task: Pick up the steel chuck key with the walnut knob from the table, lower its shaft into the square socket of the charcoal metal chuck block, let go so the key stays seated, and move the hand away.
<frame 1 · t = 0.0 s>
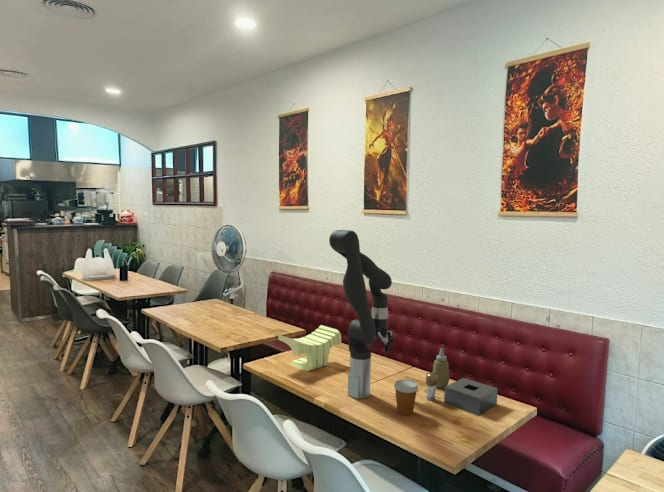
hand: (379, 350, 201), 17 cm above the table, tool pointing down, fingers open, 8 cm apart
disposable coffee cup: (405, 412, 177), on the table
chuck block: (470, 403, 187), on the table
squeeze bottle: (440, 386, 205), on the table
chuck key: (430, 399, 190), on the table
slatted curved stool: (309, 366, 228), on the table
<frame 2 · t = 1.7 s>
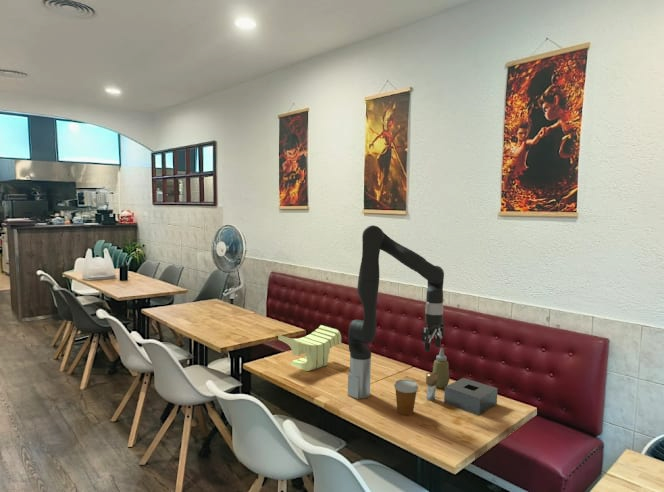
hand: (432, 348, 189), 22 cm above the table, tool pointing down, fingers open, 8 cm apart
nothing on the table moved.
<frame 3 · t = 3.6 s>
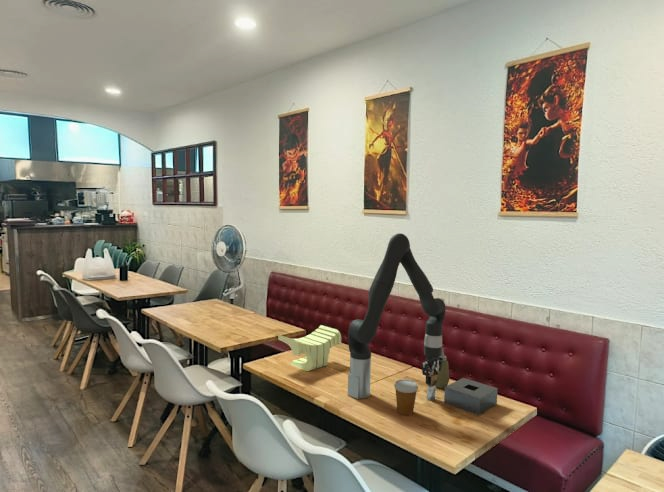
hand: (431, 382, 190), 7 cm above the table, tool pointing down, fingers closed on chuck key, 4 cm apart
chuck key: (430, 399, 190), on the table, touching gripper
everything else where it was.
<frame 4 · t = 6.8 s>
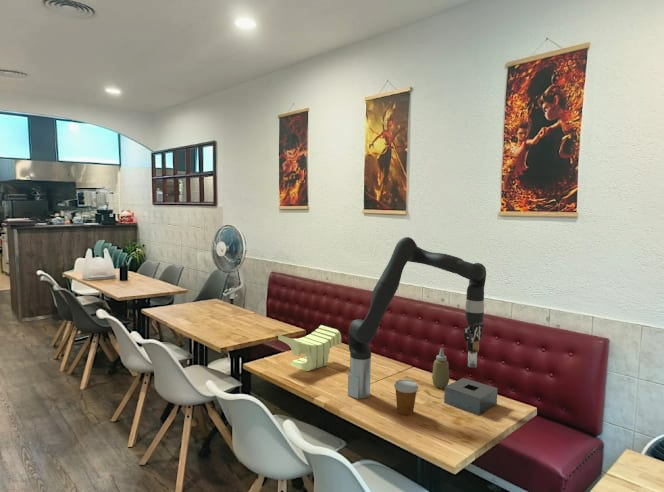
hand: (472, 349, 185), 24 cm above the table, tool pointing down, fingers closed on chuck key, 4 cm apart
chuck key: (472, 366, 186), point 16 cm above the table, touching gripper
everything else where it was.
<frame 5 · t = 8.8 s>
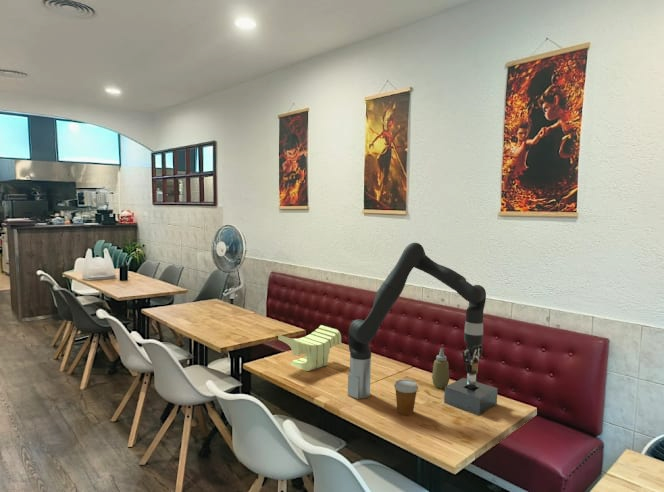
hand: (471, 371, 186), 14 cm above the table, tool pointing down, fingers closed on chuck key, 4 cm apart
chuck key: (471, 387, 186), point 7 cm above the table, touching gripper
everything else where it was.
when the fingers open (8 cm above the table, at t = 10.4 s): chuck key stays where it is, resting on chuck block.
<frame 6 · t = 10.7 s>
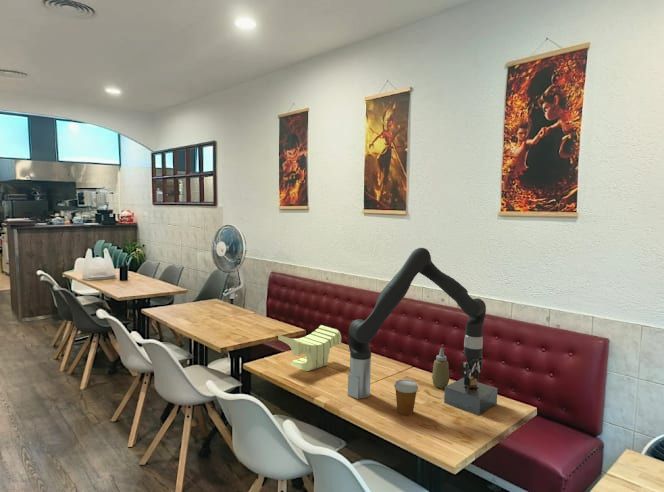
hand: (471, 383, 186), 9 cm above the table, tool pointing down, fingers open, 7 cm apart
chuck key: (470, 403, 187), resting on chuck block
everything else where it was.
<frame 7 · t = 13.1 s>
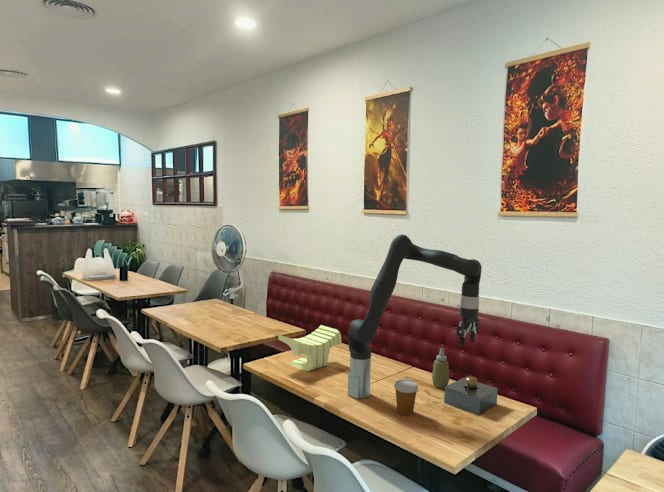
hand: (467, 343, 185), 26 cm above the table, tool pointing down, fingers open, 8 cm apart
nothing on the table moved.
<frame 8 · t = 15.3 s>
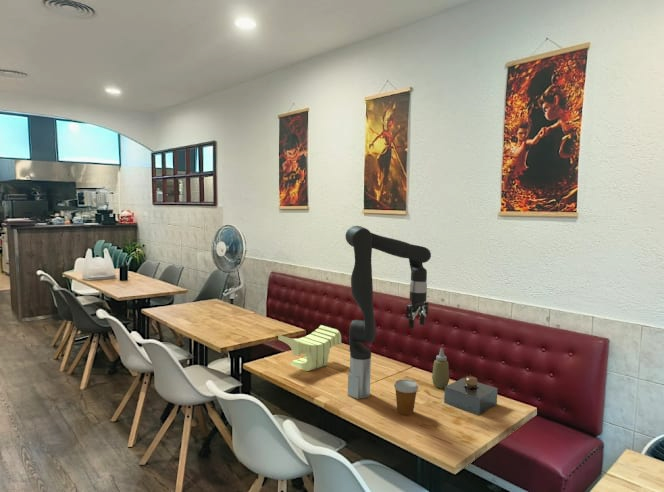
hand: (416, 326, 197), 30 cm above the table, tool pointing down, fingers open, 8 cm apart
nothing on the table moved.
at the end: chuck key 0.2 cm off-centre on the chuck block, point 0.0 cm above the chuck block's base; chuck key tilted 0°; the gripper is holding nothing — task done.
